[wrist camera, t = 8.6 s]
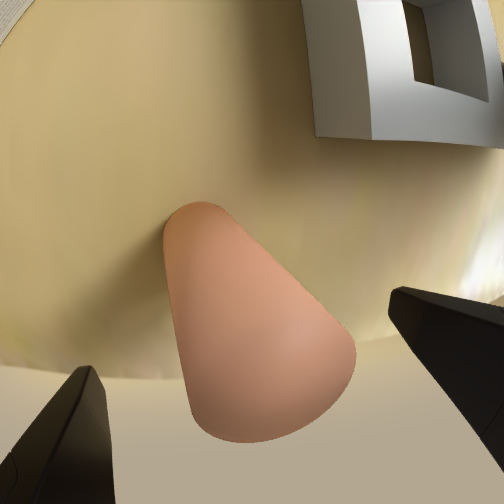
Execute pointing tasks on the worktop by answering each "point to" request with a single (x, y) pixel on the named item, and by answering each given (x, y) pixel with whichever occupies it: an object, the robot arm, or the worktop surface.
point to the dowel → (248, 332)
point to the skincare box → (11, 14)
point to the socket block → (404, 72)
